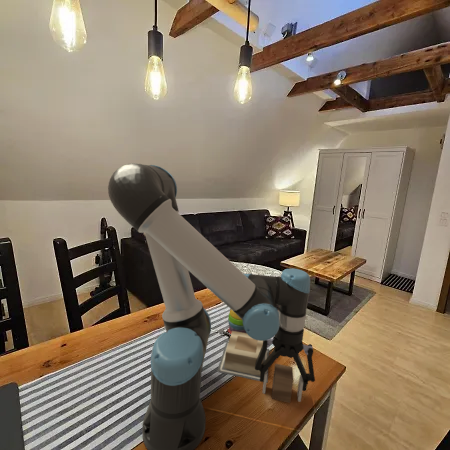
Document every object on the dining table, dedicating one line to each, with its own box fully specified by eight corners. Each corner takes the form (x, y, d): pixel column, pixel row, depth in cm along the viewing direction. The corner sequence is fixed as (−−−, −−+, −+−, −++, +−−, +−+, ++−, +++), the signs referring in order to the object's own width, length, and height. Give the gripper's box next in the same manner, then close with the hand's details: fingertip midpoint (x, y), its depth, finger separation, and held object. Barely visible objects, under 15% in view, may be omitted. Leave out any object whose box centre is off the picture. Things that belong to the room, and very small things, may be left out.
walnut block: (289, 404, 72) (293, 379, 70) (271, 400, 73) (274, 375, 71) (289, 390, 76) (292, 367, 75) (272, 386, 77) (275, 363, 76)
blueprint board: (267, 384, 78) (267, 382, 78) (216, 372, 81) (216, 371, 81) (269, 350, 94) (269, 349, 94) (226, 342, 97) (226, 340, 96)
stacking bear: (250, 344, 96) (255, 300, 93) (224, 339, 98) (228, 296, 95) (253, 328, 107) (257, 288, 104) (229, 324, 109) (232, 285, 105)
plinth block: (261, 376, 80) (263, 359, 79) (224, 368, 83) (225, 351, 81) (263, 351, 92) (265, 336, 91) (230, 345, 94) (232, 330, 93)
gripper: (329, 324, 72) (318, 392, 76) (251, 311, 76) (245, 376, 80) (335, 340, 65) (322, 414, 69) (249, 325, 69) (242, 396, 73)
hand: (281, 394), depth 74 cm, fingers open, 9 cm apart
